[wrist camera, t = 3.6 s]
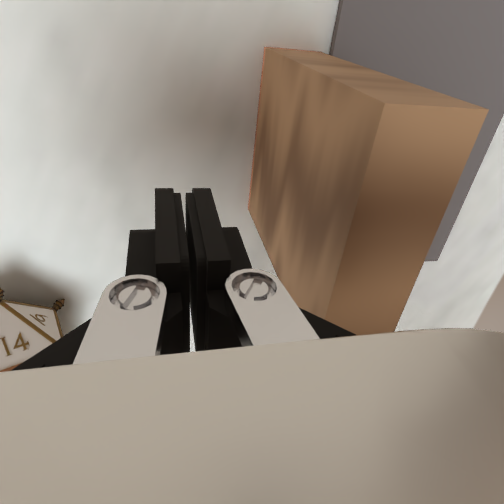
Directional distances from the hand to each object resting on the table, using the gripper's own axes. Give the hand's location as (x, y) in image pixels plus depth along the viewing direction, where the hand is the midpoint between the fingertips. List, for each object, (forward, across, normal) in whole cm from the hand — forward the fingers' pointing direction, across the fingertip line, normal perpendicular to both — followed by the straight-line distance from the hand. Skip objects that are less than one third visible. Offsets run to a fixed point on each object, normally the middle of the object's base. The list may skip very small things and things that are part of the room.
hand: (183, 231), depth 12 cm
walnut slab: (+10, -6, 0) cm, 12 cm away
